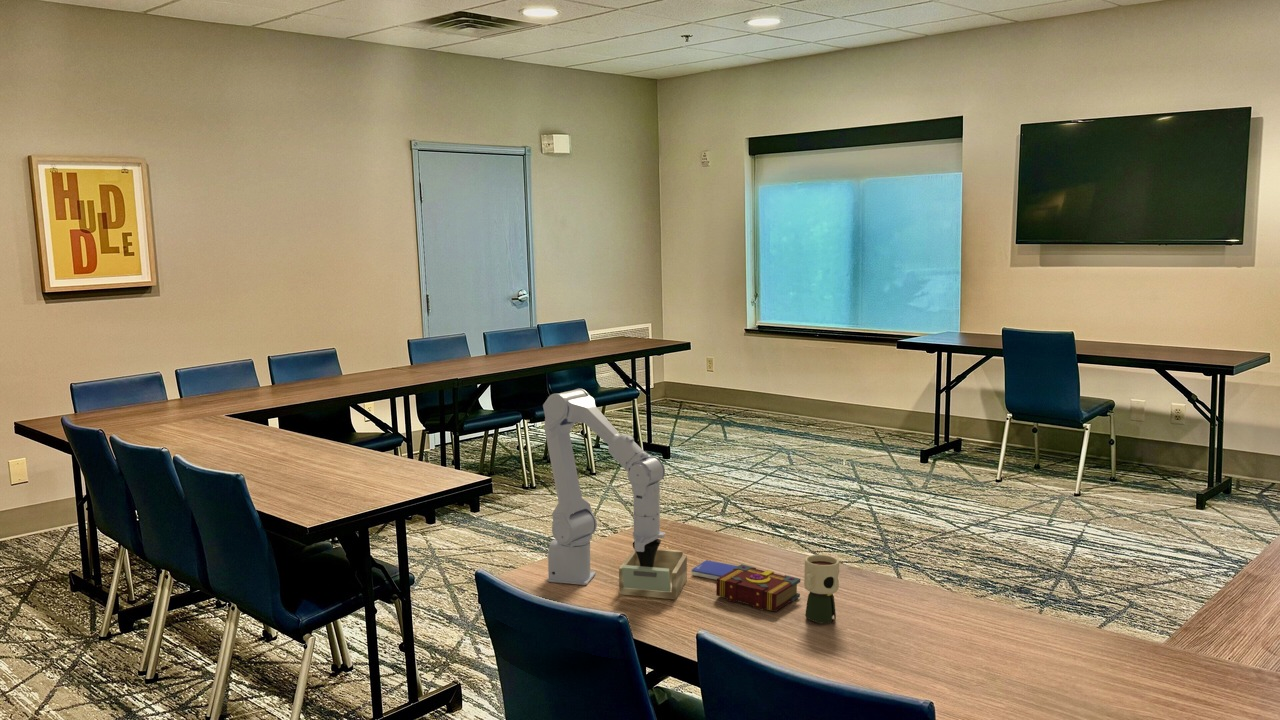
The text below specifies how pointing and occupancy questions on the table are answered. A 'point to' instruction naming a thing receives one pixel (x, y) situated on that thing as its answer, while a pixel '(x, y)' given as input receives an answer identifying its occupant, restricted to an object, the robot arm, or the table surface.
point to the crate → (662, 560)
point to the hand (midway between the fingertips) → (646, 572)
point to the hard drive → (712, 569)
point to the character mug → (821, 587)
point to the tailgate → (646, 578)
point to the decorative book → (757, 587)
